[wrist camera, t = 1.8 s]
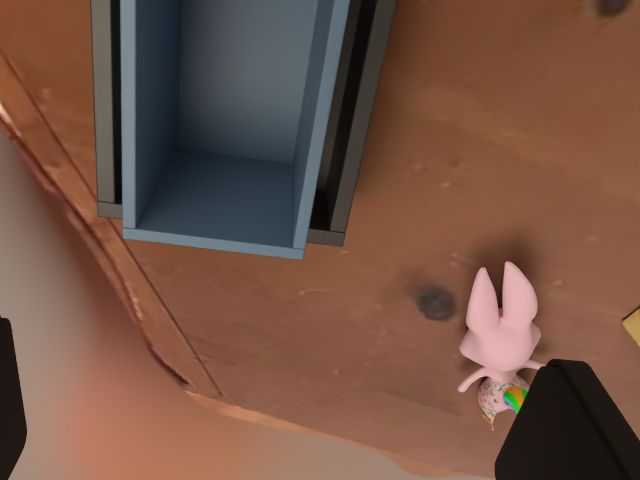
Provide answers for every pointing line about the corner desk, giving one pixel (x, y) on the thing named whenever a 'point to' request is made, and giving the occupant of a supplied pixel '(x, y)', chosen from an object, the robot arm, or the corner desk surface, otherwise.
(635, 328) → the candy box
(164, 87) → the blue bin
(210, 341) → the corner desk surface
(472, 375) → the rabbit figure
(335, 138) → the charcoal bin
